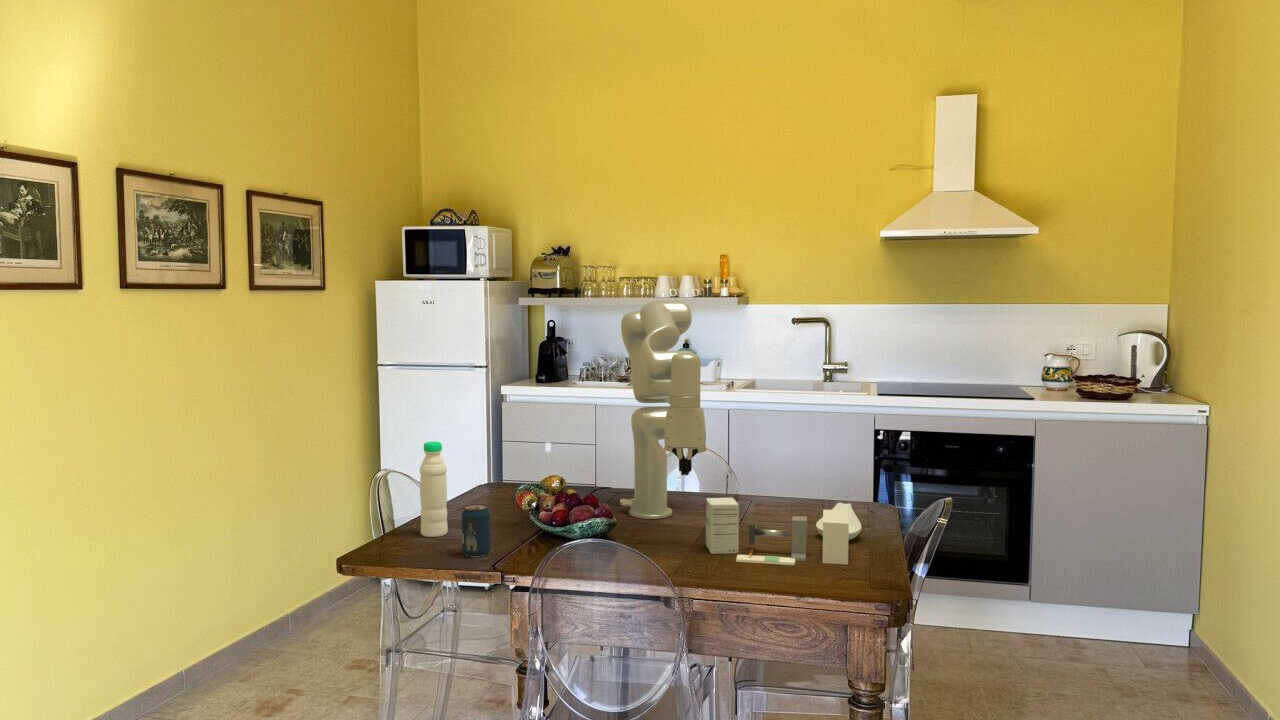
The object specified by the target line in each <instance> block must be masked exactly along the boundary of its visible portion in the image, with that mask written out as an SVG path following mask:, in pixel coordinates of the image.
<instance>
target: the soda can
mask: <svg viewBox="0 0 1280 720" xmlns="http://www.w3.org/2000/svg"><path fill="white" fill-rule="evenodd" d="M463 508H464V509H463V511H462V513H461V545H462V546H461V548H462V549H461V550H462V552H463V555H465V556H466V555H467V556H466V557H468V556H482V555H486V554H487V555H488V554H489V553H490V551H491V547H492V546H491V541H492V540H491V512H490V511H489V508H488V505H487V504H482V503H476V504H475V503H474V504H473V503H472V504H467V505H464V507H463ZM487 555H486V556H487Z"/></svg>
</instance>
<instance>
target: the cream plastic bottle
mask: <svg viewBox="0 0 1280 720" xmlns="http://www.w3.org/2000/svg"><path fill="white" fill-rule="evenodd" d="M442 449H443V446H442V442H440V441H435V440H433V441H427V442H424V443H423V451H424V452H423V453H424V454H425V456H424V458H423V460H422V463H421V465H420V467H419V474H420V478H419V479H420V481H419V496H420V507H421V508H420V521H421V522H420V534H421V535H422V536H423V537H426V538H438V537H443V536H445V535H447V533H448V530H449V529H448V528H449V527H448V520H447V519H448V508H447V505H448V504H447V502H448V486H447V485H448V483H447V466H446V464H445V461H444V459H443V458H442V456H441V453H442Z"/></svg>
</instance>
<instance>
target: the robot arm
mask: <svg viewBox="0 0 1280 720" xmlns="http://www.w3.org/2000/svg"><path fill="white" fill-rule="evenodd" d="M692 315H693V314H692V310H691V309H690V306H689V305H688V303H686V302H685V301H682V300H653V301H648V302H647V303H645V304H644V305H643V306H642V307H641V309H640V310H635V311H630V312H627V313H626V314H624V315H622V316H623V317H622V318H621V325H620V330H621V331H620V333H621V337H622V341H623V343H624V347H625V349H626V352H627V354H628V357H629V361H630V370H631V380H632V381H631V382H632V391H633V395H634V398H635V400H636V402H639V403H641V404H669V405H668V406H665V405H663V406H661V405H659V406H643V407H640V408H637V409H635V410H634V411H633V412H632V415H631V422H630V424H631V429H632V430H631V431H632V437H633V449H634V452H633V453H634V455H633V456H634V464H633V465H634V468H633V469H634V477H633V478H634V497H633V498H630V499H627V498H620V501H619V504H620V506H622V507H626V508H627V507H629V508H630V509H629V510H628V512H629V513H628V514H629V516H631V517H633V518H635V519H636V518H637V519H644V520H645V519H646V520H655V519H665V518H669V517H670V516H672V515H673V509H672V508H670V507H668V455H667V452H669V453H673V455H674V456H675V457H677V459H678V471H679V472H680V474H681V476H684V475H685V476H689V474H690V472H692V464H693V463H692V459H693V458H694V457H695V456H696V455H697V454H701V453H705V452H707V449H708V448H707V445H706V439H707V437H706V436H707V434H706V430H707V429H706V419H705V412H704V408H703V407H701V372H702V371H701V370H702V369H701V367H702V366H701V358H700V356H699V355H698V354H696V353H694V352H693V351H691V350H671V349H673V348H674V347H675V346H676V345H677V344H678V343H679V340H680V337H681V336H682V335H683V334H684V333H686V332H687V331H688V330H689V329H690V327H691V324H692V318H693V317H692ZM661 440H664V442H663V443H664V446H662V445H661V444H660V442H659V441H661ZM684 449H687V452H686V453H687V455H686V456H685V454H684Z"/></svg>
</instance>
